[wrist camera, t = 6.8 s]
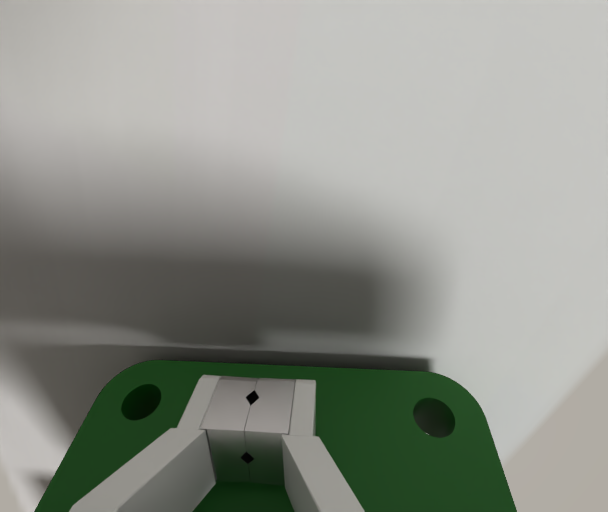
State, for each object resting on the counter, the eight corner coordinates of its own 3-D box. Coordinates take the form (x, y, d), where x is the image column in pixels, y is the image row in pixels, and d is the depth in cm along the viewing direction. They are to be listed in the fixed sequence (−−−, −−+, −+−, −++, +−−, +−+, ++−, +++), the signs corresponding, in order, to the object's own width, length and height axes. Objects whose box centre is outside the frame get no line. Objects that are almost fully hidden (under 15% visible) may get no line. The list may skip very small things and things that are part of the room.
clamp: (231, 369, 18) (68, 587, 12) (207, 284, 14) (-56, 544, 8) (487, 492, 13) (443, 950, 7) (554, 418, 9) (584, 1265, 3)
